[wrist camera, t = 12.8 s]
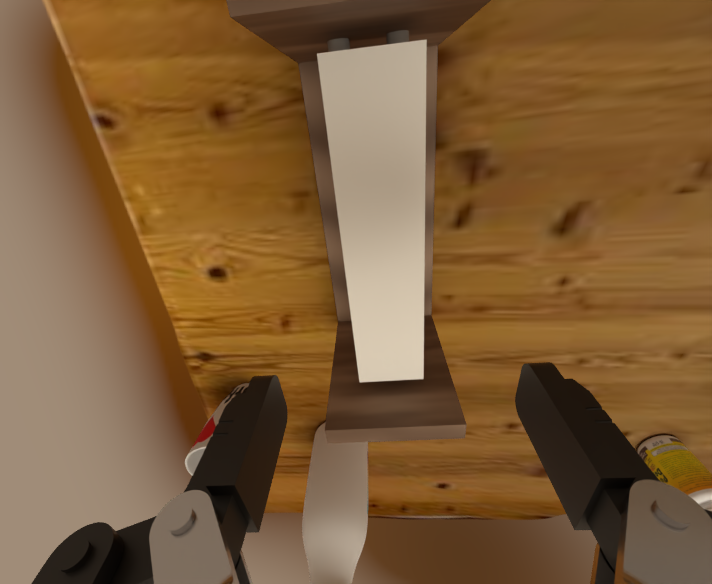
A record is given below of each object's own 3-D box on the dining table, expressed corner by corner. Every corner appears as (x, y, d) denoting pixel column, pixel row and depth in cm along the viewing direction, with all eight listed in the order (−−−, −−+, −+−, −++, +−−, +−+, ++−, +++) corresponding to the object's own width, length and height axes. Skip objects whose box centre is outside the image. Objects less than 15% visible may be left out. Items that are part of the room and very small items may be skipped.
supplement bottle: (630, 441, 46) (694, 521, 37) (674, 428, 44) (751, 508, 35) (639, 461, 48) (701, 541, 39) (681, 448, 46) (755, 529, 37)
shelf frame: (298, 40, 24) (216, -41, 11) (434, 23, 23) (524, -88, 10) (340, 324, 37) (327, 443, 24) (428, 318, 36) (464, 438, 23)
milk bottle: (304, 427, 46) (268, 620, 29) (351, 410, 44) (342, 607, 27) (332, 456, 49) (315, 644, 32) (376, 441, 47) (383, 634, 30)
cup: (273, 372, 41) (248, 444, 32) (288, 415, 45) (269, 488, 36) (213, 377, 41) (172, 448, 33) (232, 418, 45) (201, 491, 37)
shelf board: (324, 61, 17) (316, 53, 15) (417, 50, 17) (426, 39, 14) (360, 356, 28) (359, 382, 25) (418, 353, 27) (423, 378, 25)
